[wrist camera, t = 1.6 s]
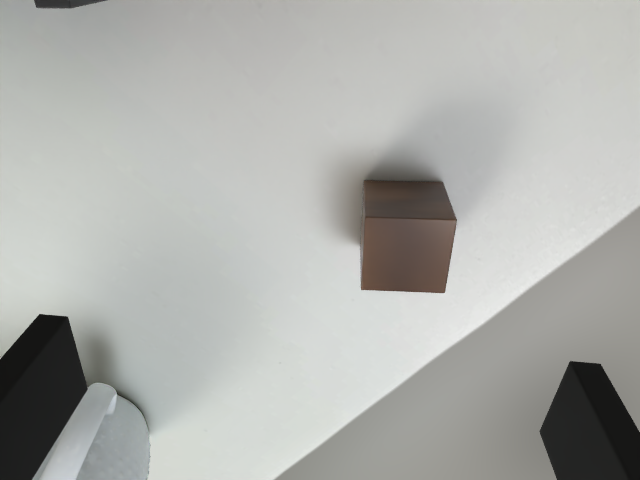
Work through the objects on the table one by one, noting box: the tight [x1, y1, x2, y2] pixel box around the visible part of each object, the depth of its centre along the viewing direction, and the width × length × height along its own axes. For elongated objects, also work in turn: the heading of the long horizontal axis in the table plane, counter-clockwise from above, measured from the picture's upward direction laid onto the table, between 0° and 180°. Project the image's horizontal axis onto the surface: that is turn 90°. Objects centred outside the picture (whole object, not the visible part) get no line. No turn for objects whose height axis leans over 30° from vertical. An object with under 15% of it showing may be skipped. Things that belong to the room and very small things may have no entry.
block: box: [360, 180, 457, 293], centre depth 27 cm, size 4×4×4 cm
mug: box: [32, 383, 150, 480], centre depth 34 cm, size 15×11×13 cm
